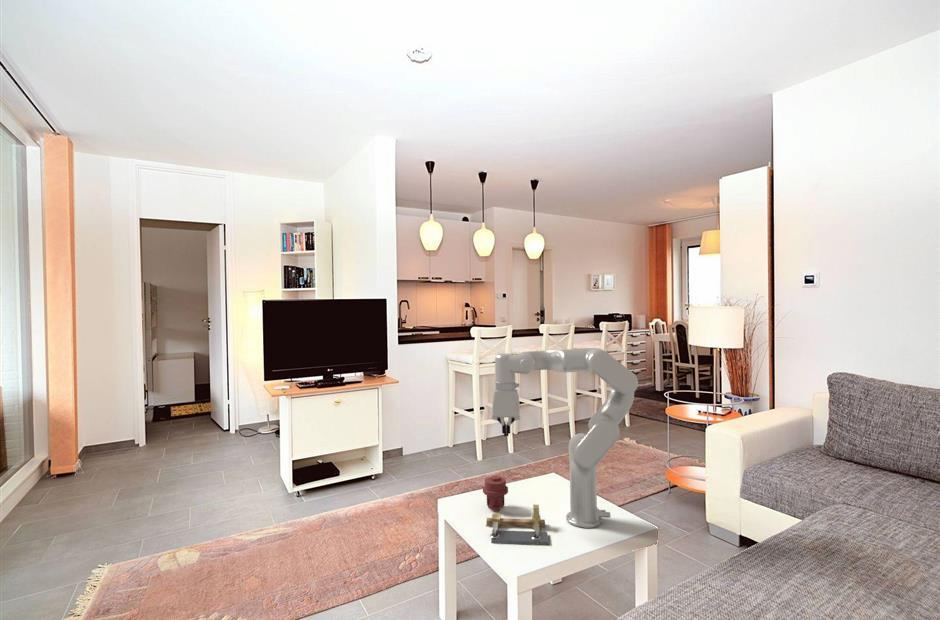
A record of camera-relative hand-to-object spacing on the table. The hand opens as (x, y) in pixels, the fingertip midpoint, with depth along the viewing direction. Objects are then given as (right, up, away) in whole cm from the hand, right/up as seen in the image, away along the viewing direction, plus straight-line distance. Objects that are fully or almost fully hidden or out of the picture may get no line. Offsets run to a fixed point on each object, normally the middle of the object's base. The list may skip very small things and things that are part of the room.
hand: (506, 435), depth 172 cm
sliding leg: (+10, -31, -11) cm, 34 cm away
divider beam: (+2, -31, -11) cm, 33 cm away
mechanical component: (-4, -31, +8) cm, 33 cm away
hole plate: (+3, -31, -16) cm, 35 cm away
